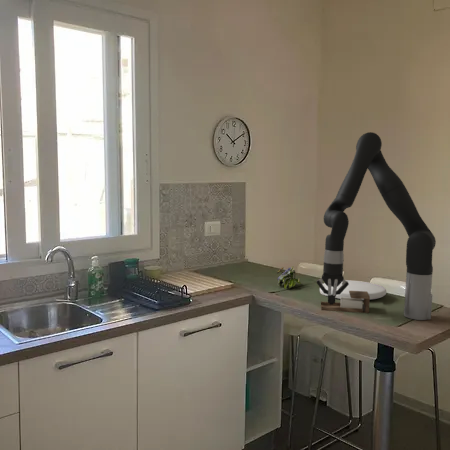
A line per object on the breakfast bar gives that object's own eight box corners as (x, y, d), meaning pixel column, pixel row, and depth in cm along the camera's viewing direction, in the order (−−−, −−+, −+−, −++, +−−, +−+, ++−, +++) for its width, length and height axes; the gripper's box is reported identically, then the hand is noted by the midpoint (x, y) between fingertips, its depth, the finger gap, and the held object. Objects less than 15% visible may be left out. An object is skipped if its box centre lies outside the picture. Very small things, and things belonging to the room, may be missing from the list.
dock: (366, 309, 208) (367, 291, 207) (368, 315, 200) (369, 297, 199) (320, 306, 211) (321, 289, 210) (321, 312, 203) (322, 294, 202)
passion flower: (280, 297, 245) (277, 273, 251) (303, 294, 243) (300, 270, 249) (276, 288, 236) (274, 264, 241) (300, 285, 234) (297, 261, 240)
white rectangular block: (360, 307, 207) (361, 298, 206) (362, 311, 202) (362, 301, 201) (340, 306, 208) (340, 296, 207) (340, 310, 203) (341, 300, 203)
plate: (309, 286, 225) (333, 276, 247) (310, 301, 225) (334, 289, 247) (373, 290, 209) (393, 278, 231) (374, 306, 209) (393, 293, 231)
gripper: (350, 260, 207) (347, 302, 209) (316, 258, 208) (314, 300, 211) (351, 264, 199) (349, 308, 201) (316, 262, 201) (314, 305, 203)
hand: (331, 304), depth 206 cm, fingers closed
